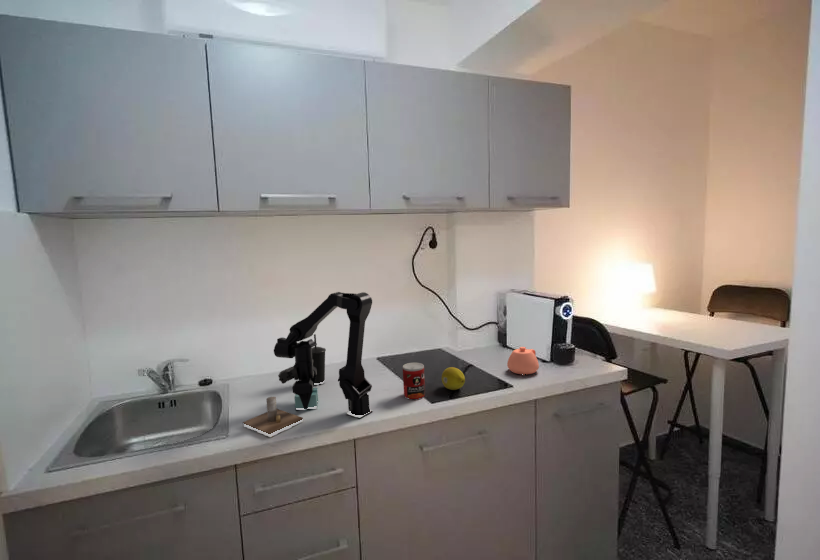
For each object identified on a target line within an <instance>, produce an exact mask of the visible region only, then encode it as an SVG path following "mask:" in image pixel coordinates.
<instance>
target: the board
mask: <svg viewBox="0 0 820 560" xmlns="http://www.w3.org/2000/svg"><path fill="white" fill-rule="evenodd" d="M266 410H267V411H266V412H263V413H261V414H259V415H256V416H255V417H252V418H250V419H248V420H244V421H243V422H242V424H243V423H244V424H246V425H249V426H251V427H253V428H256V429H258V430H261V431H263V432H266V433H268V434H271V433H273V432H275V431H277V430H280V429H282V428H284V427H286V426H289V425H291V424H293V423H296V422H298V421H300V420H302V419H303V420H304V417H302V416H299V415H297V414H293V413H291V412H288V411H284V410H282V409H278V407H277V397H276V396H269V397H267V398H266Z"/></svg>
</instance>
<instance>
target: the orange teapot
mask: <svg viewBox="0 0 820 560" xmlns="http://www.w3.org/2000/svg"><path fill="white" fill-rule="evenodd" d="M536 353H537V352H536V350H535V349H534V348H530V349H528V348H526V347H525V346H520V347H519V348H516V349H514V350H512V351H511V354H510V355H509V356H508V360H507V365H506V366H507V368H508V370H509V371H511V372H512V373H514V374H517V375H521V374H523V375H522V376H526V375H532V374H534V373H536V372H537V371H538V370H539V368H540V365H539V361H538V358H537V356H536ZM525 374H526V375H525Z"/></svg>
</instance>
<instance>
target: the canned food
mask: <svg viewBox="0 0 820 560" xmlns="http://www.w3.org/2000/svg"><path fill="white" fill-rule="evenodd" d="M402 385H403V396H404V398H405V397H406V399H407V398H409V399H408V400H410V399H417V400H420V399H419V398H421V399H423V398H424V397H425V395H426V380H425V365H424V364H423V363H421V362H408V363H405V364H403V365H402ZM422 397H423V398H422Z"/></svg>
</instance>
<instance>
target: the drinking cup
mask: <svg viewBox="0 0 820 560" xmlns="http://www.w3.org/2000/svg"><path fill="white" fill-rule="evenodd" d="M316 336H317V335H316V333H313V339H314V340H313V341H314V342H316V343H317V337H316ZM312 359H313V366H314V367H315V368H316V370H317V374H316V379H315V383H320V382H323V381H324V380H325V379H326V378H325V377H326V376H325V375H326V373H325V371H326V348H325V347H322V346H317V345H316V346H314V347H312ZM325 381H326V380H325Z"/></svg>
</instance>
